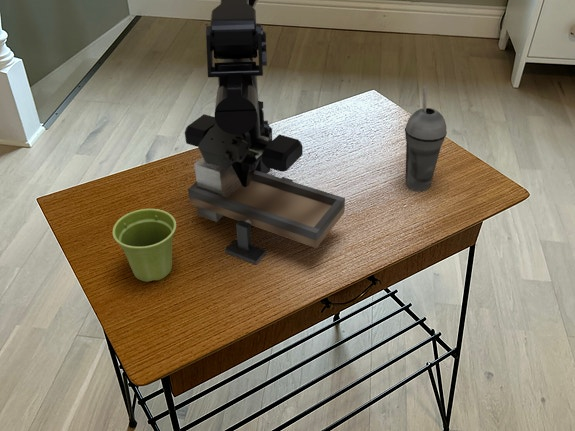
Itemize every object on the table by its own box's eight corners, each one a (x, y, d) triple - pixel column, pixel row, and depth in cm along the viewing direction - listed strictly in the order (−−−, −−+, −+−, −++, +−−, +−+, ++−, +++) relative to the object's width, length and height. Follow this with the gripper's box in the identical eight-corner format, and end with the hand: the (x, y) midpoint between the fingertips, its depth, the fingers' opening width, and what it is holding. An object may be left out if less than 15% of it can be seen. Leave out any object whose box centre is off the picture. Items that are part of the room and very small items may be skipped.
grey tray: (189, 220, 104) (184, 191, 100) (227, 185, 111) (224, 157, 108) (313, 265, 94) (314, 236, 90) (345, 224, 102) (347, 195, 98)
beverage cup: (437, 197, 110) (454, 98, 98) (396, 193, 112) (409, 95, 99) (437, 175, 116) (454, 78, 104) (399, 171, 117) (411, 75, 105)
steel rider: (198, 194, 102) (194, 164, 98) (220, 174, 106) (217, 144, 103) (223, 202, 100) (219, 171, 96) (244, 181, 104) (242, 152, 101)
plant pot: (149, 242, 102) (141, 201, 96) (194, 261, 98) (188, 219, 93) (110, 276, 96) (99, 234, 90) (156, 298, 92) (147, 255, 86)
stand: (225, 252, 99) (222, 223, 96) (276, 199, 111) (275, 171, 107) (256, 264, 97) (254, 235, 93) (305, 208, 108) (305, 180, 104)
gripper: (155, 109, 89) (170, 195, 99) (264, 140, 81) (269, 229, 91) (200, 80, 96) (210, 162, 106) (303, 105, 89) (304, 191, 99)
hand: (245, 185), depth 100 cm, fingers closed
